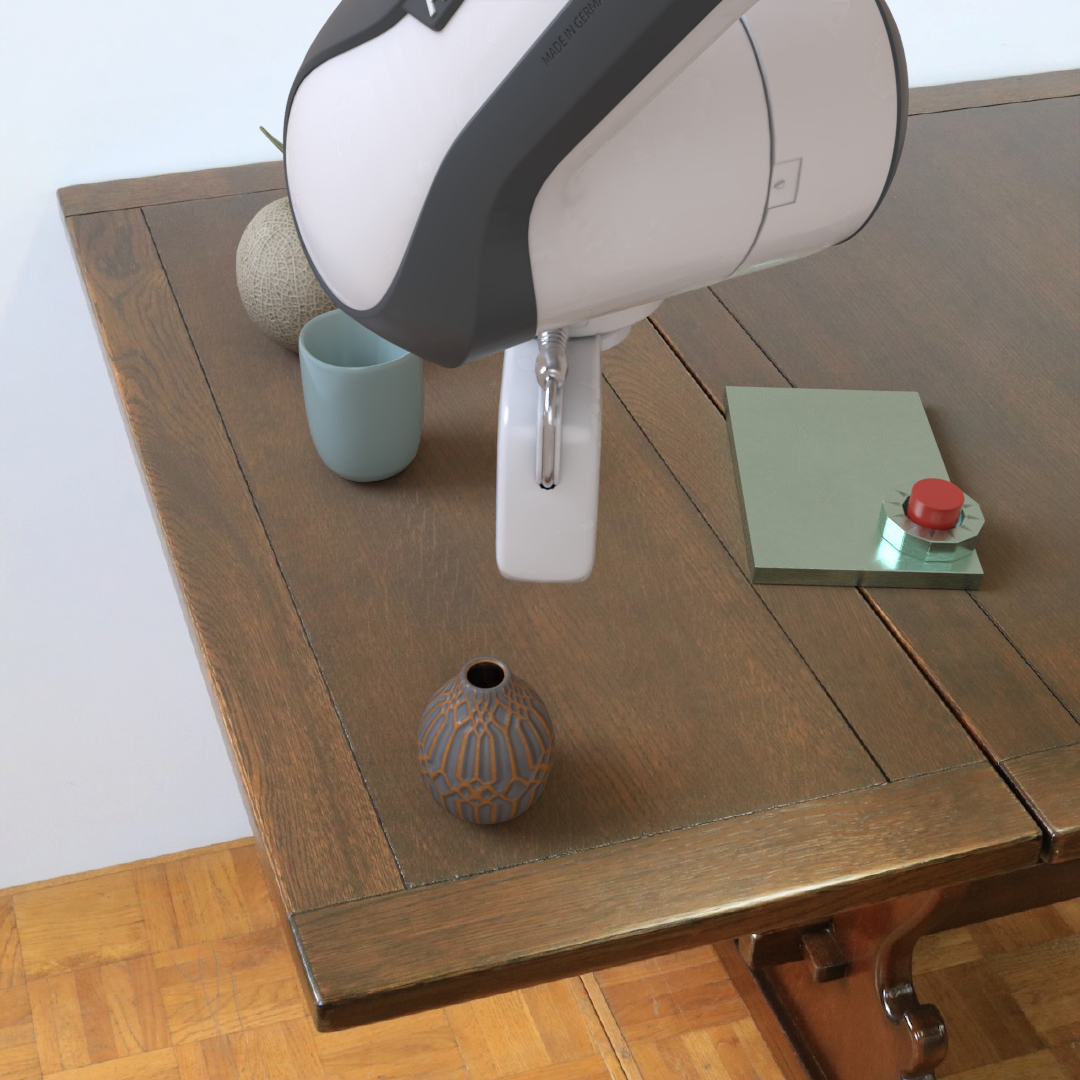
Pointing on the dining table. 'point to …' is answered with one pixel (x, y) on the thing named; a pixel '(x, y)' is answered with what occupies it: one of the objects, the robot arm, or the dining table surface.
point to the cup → (360, 398)
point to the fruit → (278, 274)
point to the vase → (485, 744)
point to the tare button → (935, 504)
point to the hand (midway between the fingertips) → (547, 523)
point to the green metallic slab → (843, 490)
